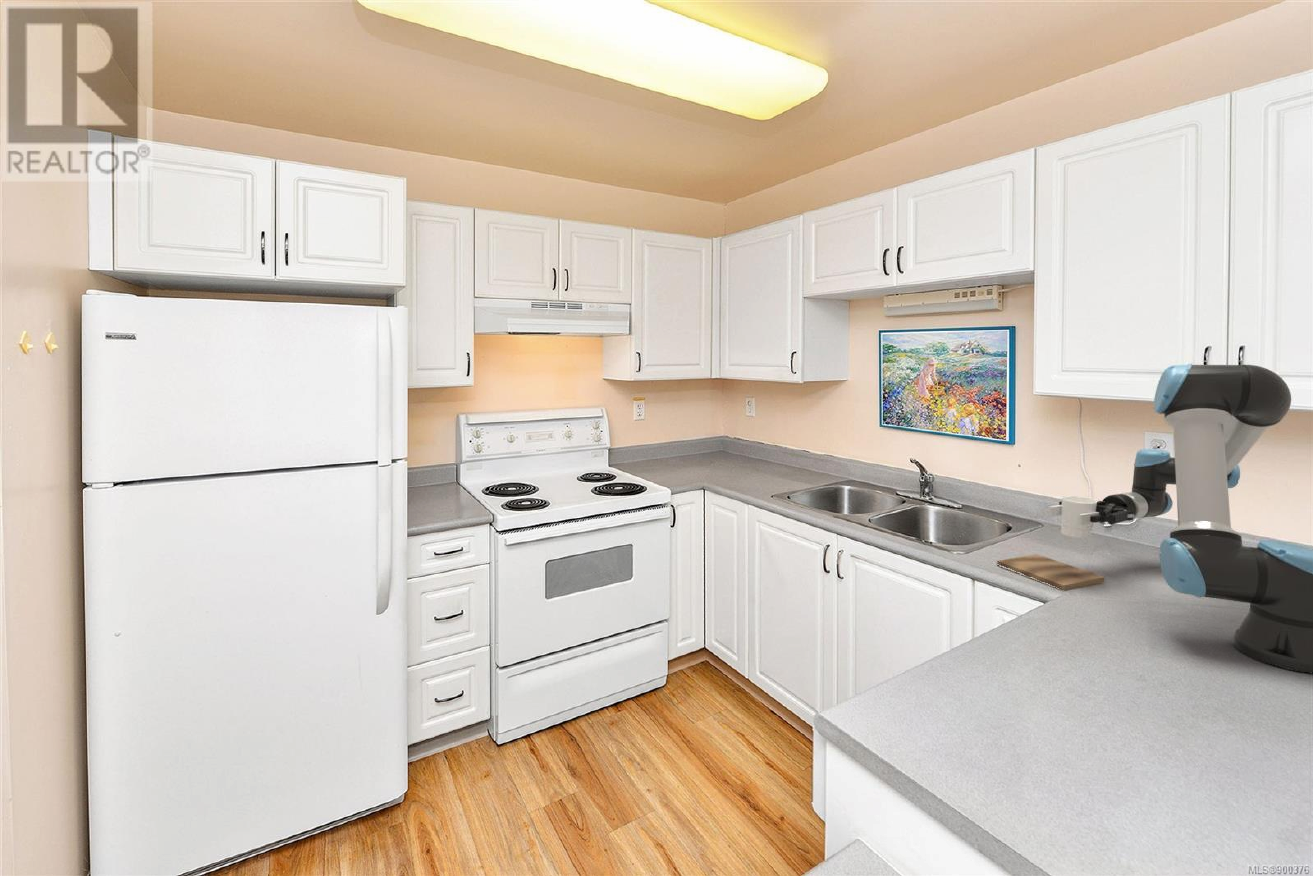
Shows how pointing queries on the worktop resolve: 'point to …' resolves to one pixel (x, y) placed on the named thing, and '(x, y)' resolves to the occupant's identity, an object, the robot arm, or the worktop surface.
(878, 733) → the worktop surface
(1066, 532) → the white cup
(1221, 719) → the worktop surface
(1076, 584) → the walnut board
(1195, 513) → the robot arm
